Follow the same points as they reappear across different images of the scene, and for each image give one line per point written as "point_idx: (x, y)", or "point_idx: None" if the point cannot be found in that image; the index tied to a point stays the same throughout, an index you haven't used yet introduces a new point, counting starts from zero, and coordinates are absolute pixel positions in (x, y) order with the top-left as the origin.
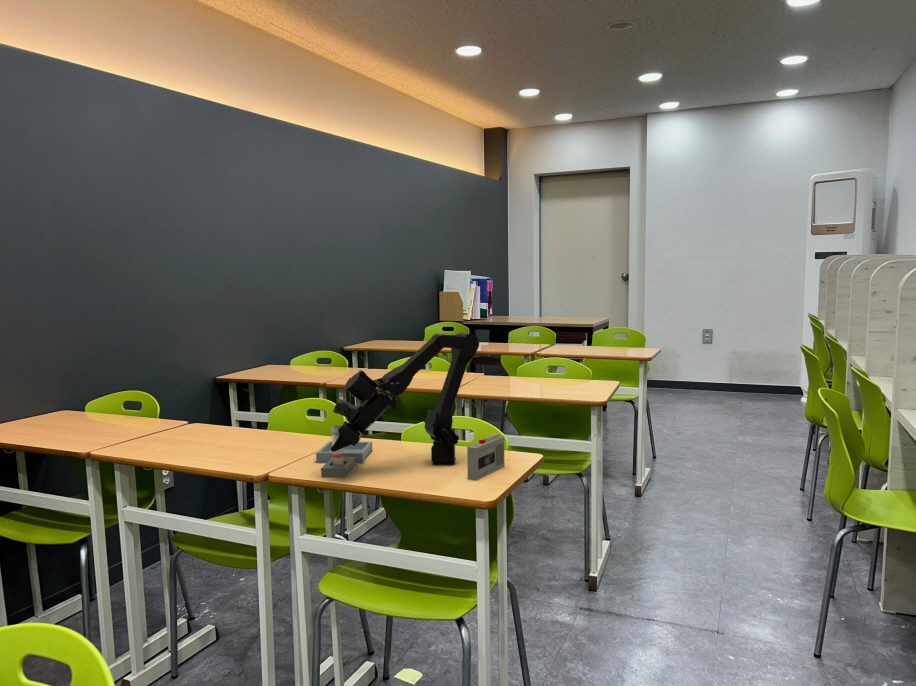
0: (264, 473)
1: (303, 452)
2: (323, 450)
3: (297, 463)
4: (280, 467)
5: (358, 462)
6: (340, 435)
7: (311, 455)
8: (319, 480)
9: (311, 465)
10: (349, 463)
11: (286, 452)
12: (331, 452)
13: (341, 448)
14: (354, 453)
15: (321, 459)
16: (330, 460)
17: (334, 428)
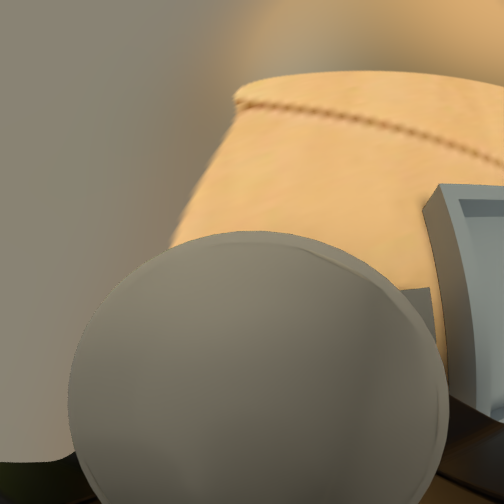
0: (247, 99)
1: (497, 137)
2: (495, 202)
3: (390, 145)
4: (324, 112)
5: None
6: (61, 468)
7: (489, 166)
8: None
9: (382, 202)
10: None
11: (471, 98)
12: (471, 259)
13: None
14: (475, 403)
15: (434, 225)
16: None
17: (82, 374)
